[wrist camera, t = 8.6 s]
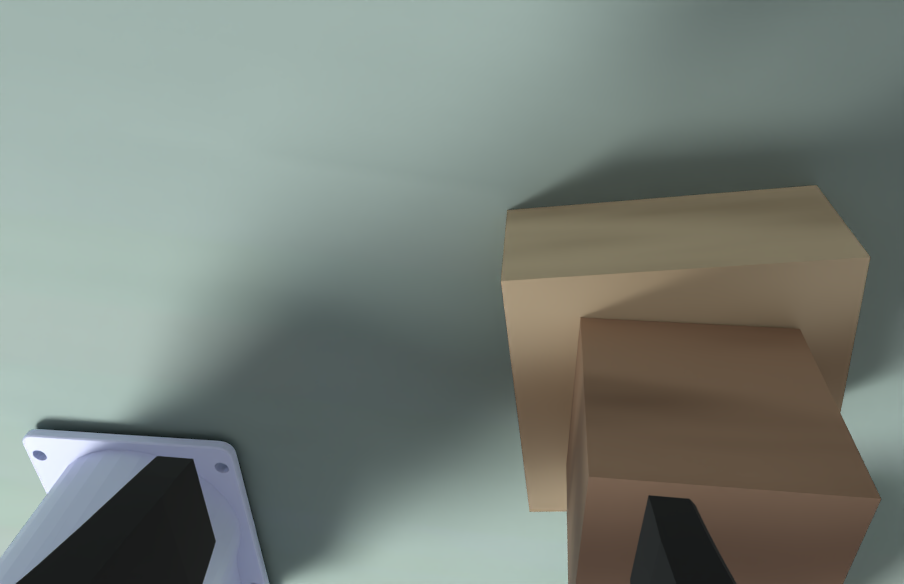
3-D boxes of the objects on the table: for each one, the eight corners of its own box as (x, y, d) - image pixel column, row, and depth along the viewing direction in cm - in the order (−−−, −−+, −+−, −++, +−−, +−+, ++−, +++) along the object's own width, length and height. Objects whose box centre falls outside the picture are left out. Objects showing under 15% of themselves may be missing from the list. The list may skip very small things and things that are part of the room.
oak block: (781, 409, 23) (821, 508, 20) (531, 417, 24) (529, 512, 21) (812, 180, 19) (870, 256, 16) (507, 204, 20) (500, 280, 17)
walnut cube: (754, 479, 19) (808, 659, 15) (566, 465, 20) (569, 635, 16) (799, 328, 17) (881, 499, 12) (580, 317, 17) (588, 476, 13)
